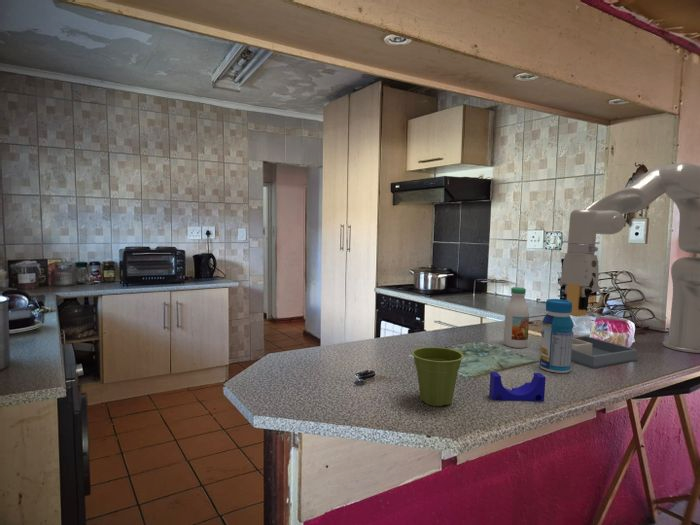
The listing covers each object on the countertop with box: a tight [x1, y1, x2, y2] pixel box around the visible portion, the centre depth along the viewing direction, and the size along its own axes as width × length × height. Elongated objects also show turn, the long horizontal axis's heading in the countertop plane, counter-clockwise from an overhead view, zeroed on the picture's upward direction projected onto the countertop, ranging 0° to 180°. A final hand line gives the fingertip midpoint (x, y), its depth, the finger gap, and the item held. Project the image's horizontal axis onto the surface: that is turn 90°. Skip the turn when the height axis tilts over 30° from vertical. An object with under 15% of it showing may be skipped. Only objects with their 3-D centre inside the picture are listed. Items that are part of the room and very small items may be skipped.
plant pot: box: [411, 346, 465, 407], centre depth 102 cm, size 12×12×11 cm
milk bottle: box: [503, 286, 530, 349], centre depth 150 cm, size 8×8×20 cm
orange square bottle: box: [567, 283, 587, 317], centre depth 137 cm, size 4×4×12 cm
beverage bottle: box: [539, 298, 575, 374], centre depth 126 cm, size 8×8×20 cm
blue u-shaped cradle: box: [488, 371, 546, 402], centre depth 105 cm, size 12×4×6 cm, turn 90°
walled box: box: [571, 335, 639, 369], centre depth 140 cm, size 20×18×5 cm
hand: (576, 307), depth 137 cm, fingers closed on orange square bottle, 4 cm apart
